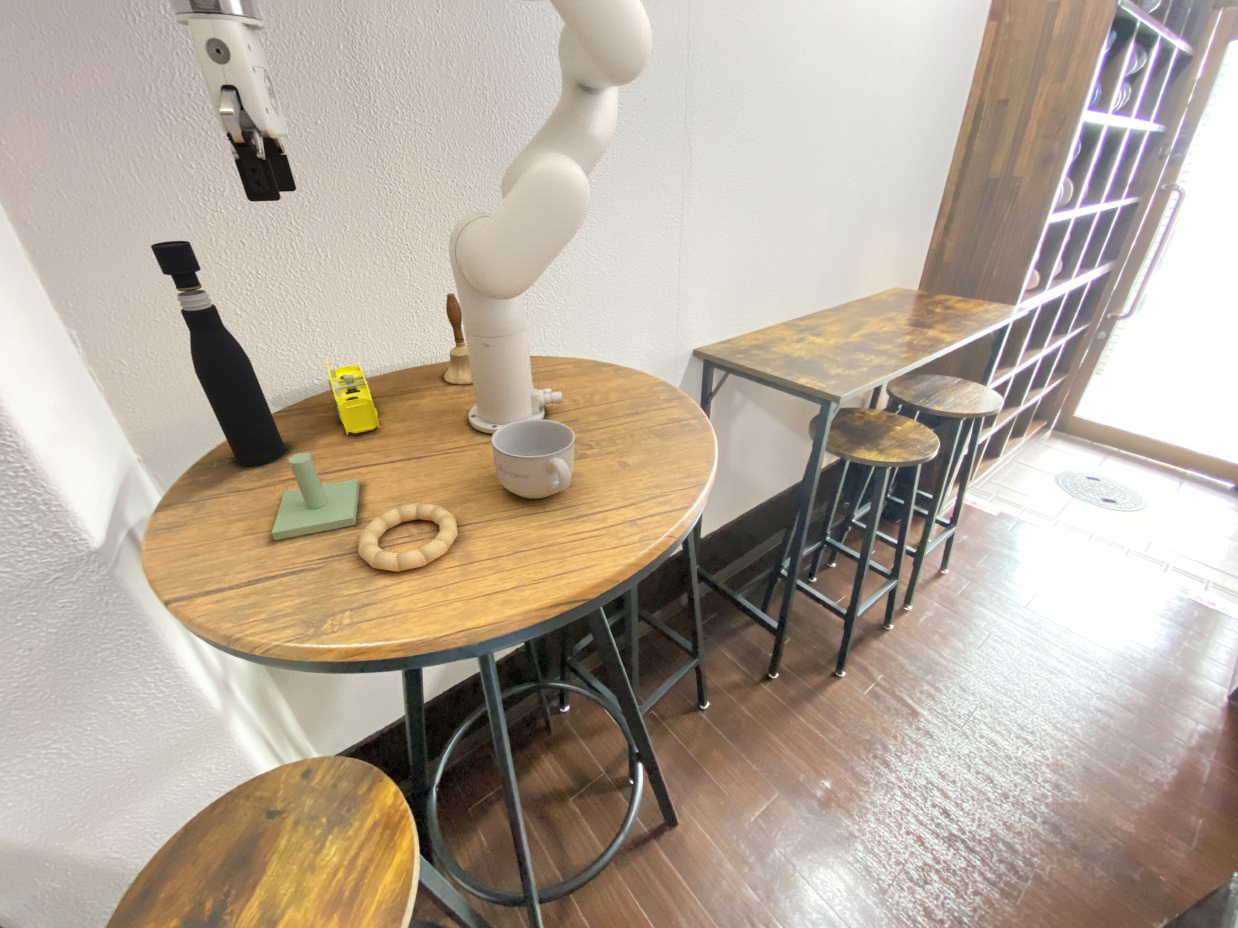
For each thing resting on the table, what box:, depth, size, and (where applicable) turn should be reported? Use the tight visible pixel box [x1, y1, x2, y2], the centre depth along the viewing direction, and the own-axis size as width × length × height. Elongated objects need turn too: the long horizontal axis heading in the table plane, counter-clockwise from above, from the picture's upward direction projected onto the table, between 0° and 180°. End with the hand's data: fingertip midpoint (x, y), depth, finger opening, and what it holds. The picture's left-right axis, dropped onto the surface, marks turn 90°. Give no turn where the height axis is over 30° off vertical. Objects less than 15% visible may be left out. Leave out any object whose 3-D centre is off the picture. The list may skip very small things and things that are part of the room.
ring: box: [357, 502, 458, 572], centre depth 63 cm, size 11×11×2 cm
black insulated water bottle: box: [150, 240, 286, 467], centre depth 72 cm, size 6×6×30 cm
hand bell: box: [443, 293, 473, 386], centre depth 101 cm, size 8×8×16 cm
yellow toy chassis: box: [325, 359, 381, 436], centre depth 89 cm, size 16×6×8 cm, turn 29°
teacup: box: [490, 418, 576, 500], centre depth 70 cm, size 14×11×8 cm
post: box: [271, 452, 360, 541], centre depth 67 cm, size 9×9×8 cm
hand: (274, 195), depth 63 cm, fingers open, 9 cm apart
